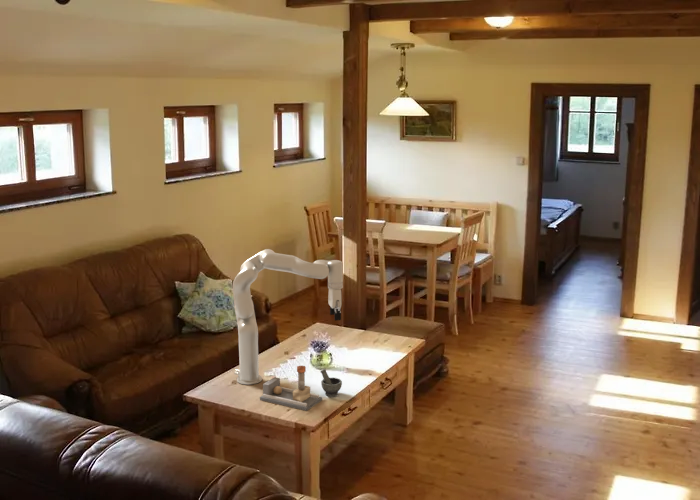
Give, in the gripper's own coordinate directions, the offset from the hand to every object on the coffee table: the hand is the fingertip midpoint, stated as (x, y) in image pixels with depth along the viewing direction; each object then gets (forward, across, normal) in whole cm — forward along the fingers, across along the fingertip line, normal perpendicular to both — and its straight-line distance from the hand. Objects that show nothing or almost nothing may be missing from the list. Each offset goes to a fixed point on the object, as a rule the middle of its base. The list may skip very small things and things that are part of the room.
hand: (335, 317), depth 400 cm
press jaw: (+29, +31, -24) cm, 48 cm away
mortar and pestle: (+31, +24, -8) cm, 40 cm away
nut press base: (+31, +26, -28) cm, 49 cm away
